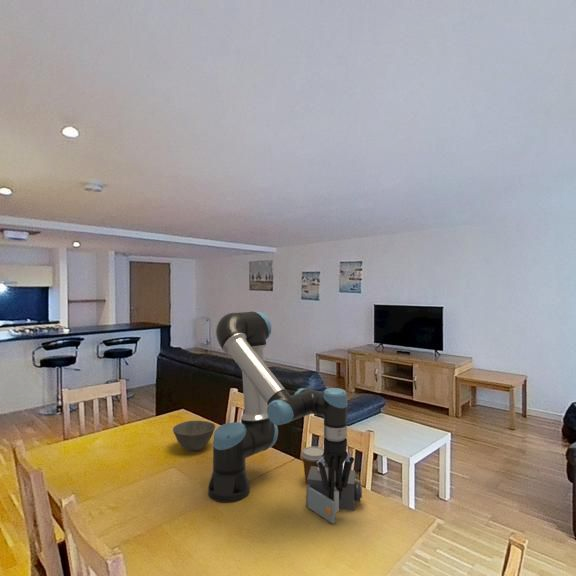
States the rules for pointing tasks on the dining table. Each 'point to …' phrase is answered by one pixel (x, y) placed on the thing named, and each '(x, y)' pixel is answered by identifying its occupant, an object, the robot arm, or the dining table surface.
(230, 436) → the robot arm
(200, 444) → the bowl
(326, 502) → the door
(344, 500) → the camera block
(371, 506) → the dining table surface
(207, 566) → the dining table surface
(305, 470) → the disposable coffee cup
